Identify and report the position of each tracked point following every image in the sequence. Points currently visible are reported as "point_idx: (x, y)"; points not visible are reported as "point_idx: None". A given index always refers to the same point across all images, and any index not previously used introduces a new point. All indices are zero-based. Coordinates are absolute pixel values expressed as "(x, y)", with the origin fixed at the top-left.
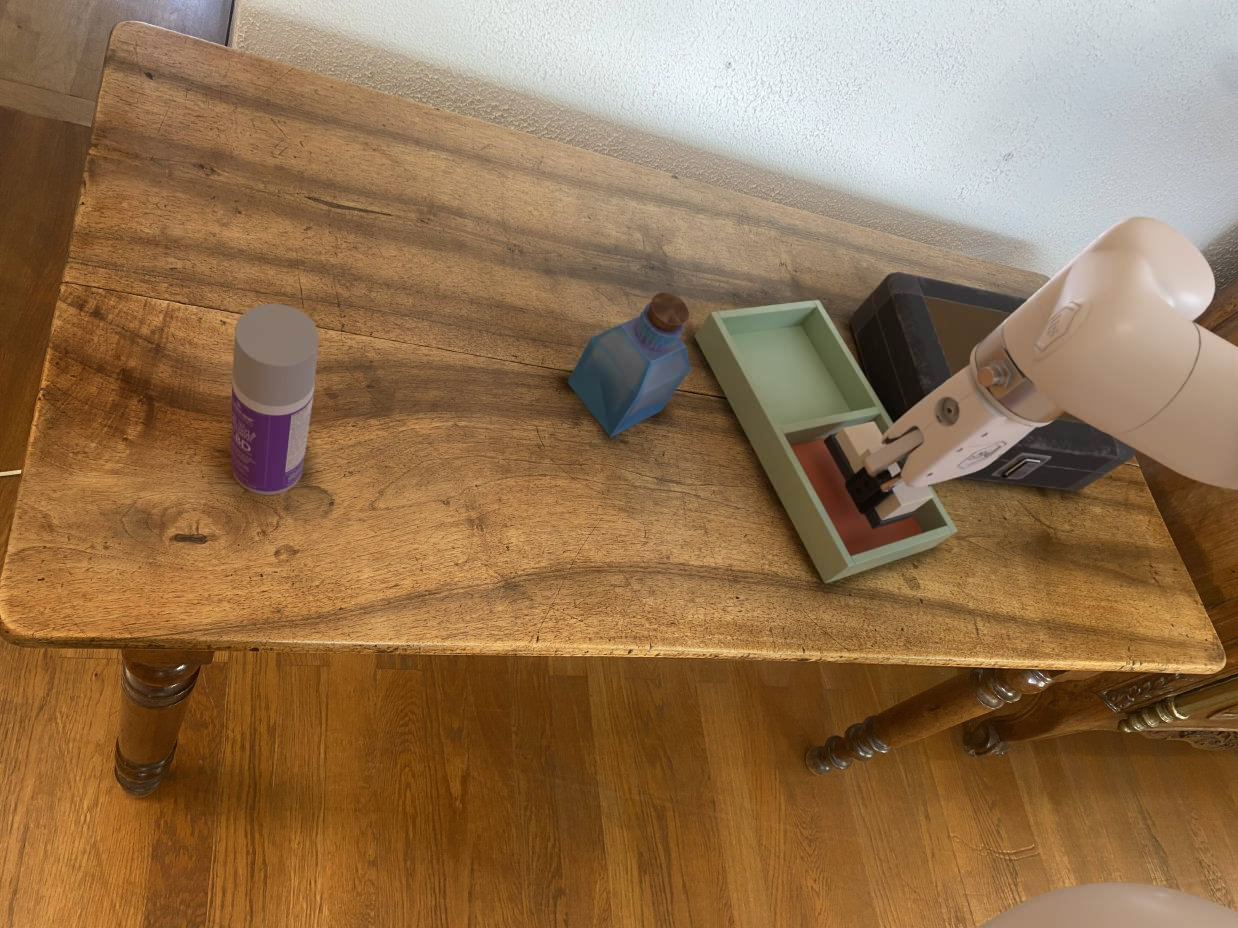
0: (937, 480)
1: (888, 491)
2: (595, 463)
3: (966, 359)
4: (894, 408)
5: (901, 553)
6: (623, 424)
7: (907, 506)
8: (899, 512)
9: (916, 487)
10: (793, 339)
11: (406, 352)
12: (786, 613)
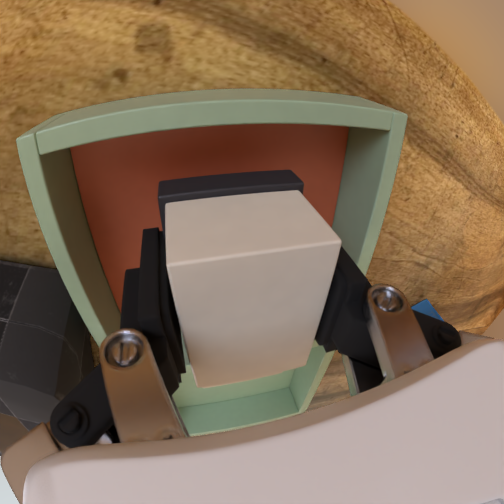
0: (451, 400)
1: (364, 285)
2: (447, 278)
3: (10, 439)
4: (87, 368)
5: (194, 95)
6: (428, 312)
7: (280, 229)
8: (265, 207)
9: (495, 342)
10: (186, 400)
11: (455, 327)
12: (429, 89)
